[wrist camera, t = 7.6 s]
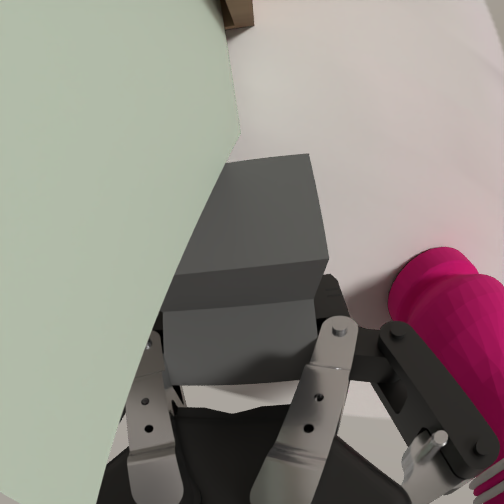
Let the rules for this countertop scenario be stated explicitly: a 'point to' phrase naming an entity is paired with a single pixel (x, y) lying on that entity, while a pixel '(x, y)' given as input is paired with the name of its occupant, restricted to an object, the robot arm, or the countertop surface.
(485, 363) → the pepper mill
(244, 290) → the block
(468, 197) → the countertop surface
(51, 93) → the sliding door
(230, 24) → the brown upright flat box
